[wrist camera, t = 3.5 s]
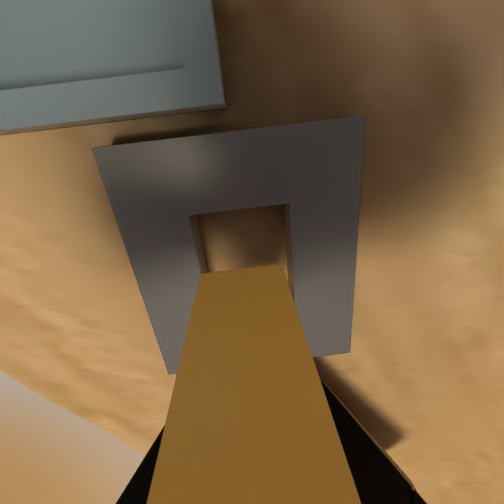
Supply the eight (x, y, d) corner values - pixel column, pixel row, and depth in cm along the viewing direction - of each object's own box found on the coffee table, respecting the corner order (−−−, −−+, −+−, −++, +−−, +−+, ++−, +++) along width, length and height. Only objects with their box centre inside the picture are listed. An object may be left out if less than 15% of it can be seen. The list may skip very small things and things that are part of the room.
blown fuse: (281, 263, 10) (405, 636, 3) (288, 362, 12) (367, 716, 5) (200, 273, 10) (106, 674, 3) (221, 370, 12) (201, 738, 5)
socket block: (348, 116, 14) (365, 115, 12) (339, 331, 20) (350, 352, 18) (111, 145, 14) (91, 148, 12) (174, 351, 20) (168, 374, 18)
